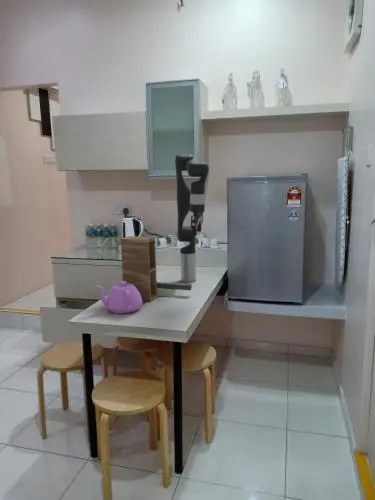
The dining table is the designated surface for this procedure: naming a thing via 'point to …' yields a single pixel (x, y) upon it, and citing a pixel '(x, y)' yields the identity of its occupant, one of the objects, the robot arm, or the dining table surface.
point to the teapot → (121, 298)
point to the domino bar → (174, 286)
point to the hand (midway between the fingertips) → (196, 233)
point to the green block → (165, 292)
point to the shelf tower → (140, 265)
